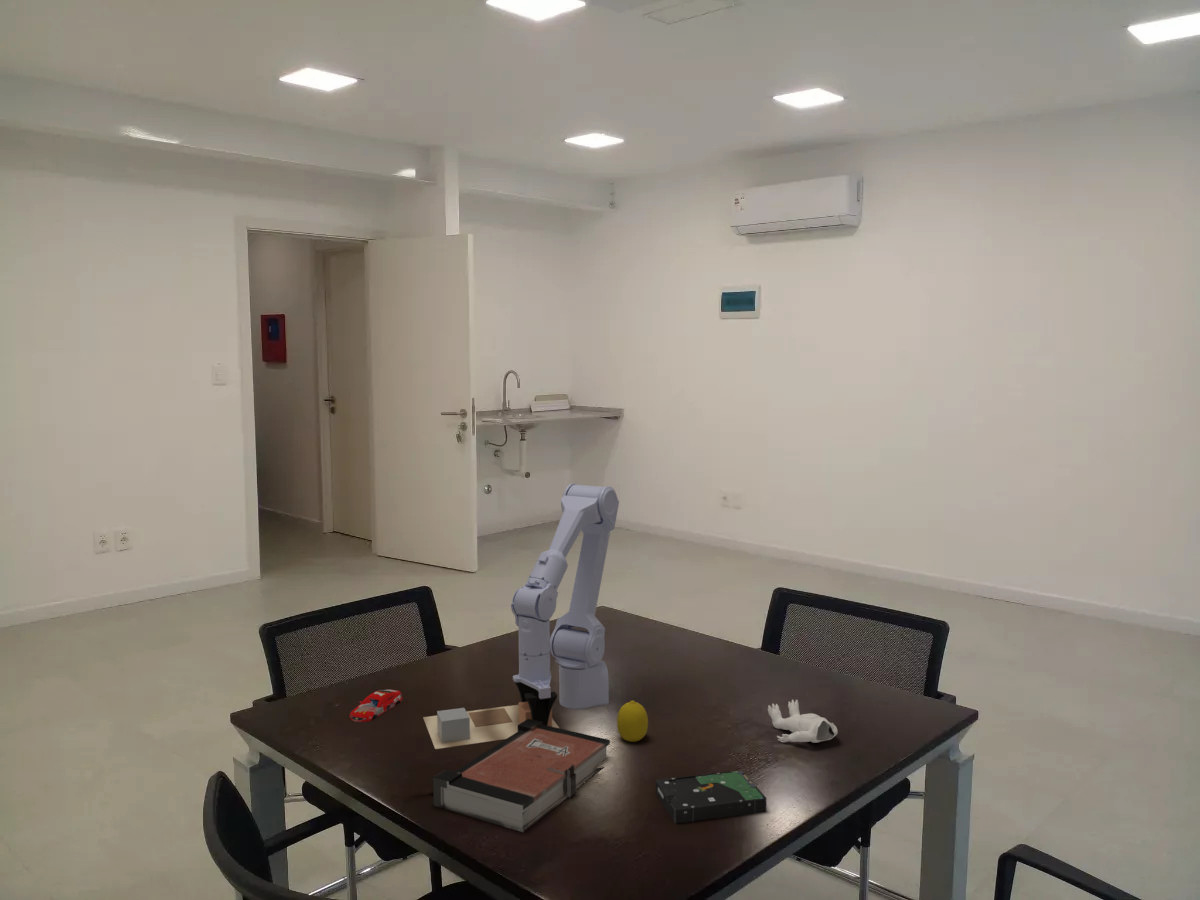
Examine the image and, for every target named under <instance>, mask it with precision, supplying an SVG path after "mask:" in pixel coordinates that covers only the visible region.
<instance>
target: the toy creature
mask: <svg viewBox="0 0 1200 900" xmlns="http://www.w3.org/2000/svg"><path fill="white" fill-rule="evenodd" d="M767 706H768V707H767V712H768V716H770V719H771V722H772V725H773V727H774V729H776V730H785V731H790V732H791V733H790V734H787V733H785V734H784V733H782V734H781V736H779V735H776V737H777V741H779V742H781V743H788V742H793V743H797V742H798V743H808V742H811V743H813V744H815V743H820V742H825V741H830V740H832V739H833V738H835V737H836V736H837V735H838V728H837V726H836V725H835V724H834V722H830V721H828V720H827V718H826V717H821V716H820V715H818V714H816V713H813V712H812V713H811V712H810V713H803V714H800V708H799V707H800V705H799V700H798V699H795V700H794V699H791V701H788V704H787V707H788V713H789V714H788V715H789V717H786V718H783V716H782V712H781V710H780V706H779V705H778V703H775V704H774V703H772V704H771V705H770V704H769V705H767Z"/></svg>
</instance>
